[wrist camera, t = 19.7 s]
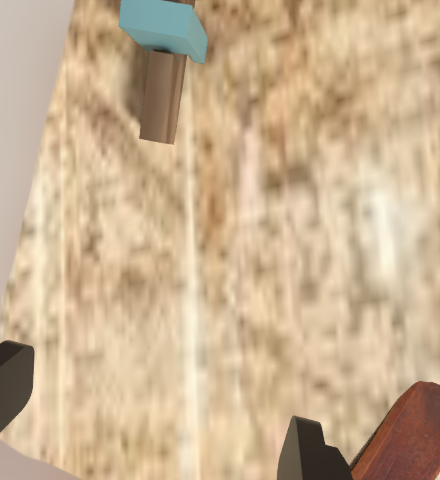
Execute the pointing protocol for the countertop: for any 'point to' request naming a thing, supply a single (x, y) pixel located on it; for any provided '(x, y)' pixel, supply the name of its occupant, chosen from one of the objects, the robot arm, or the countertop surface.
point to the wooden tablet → (406, 439)
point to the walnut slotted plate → (163, 93)
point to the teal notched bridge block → (164, 27)
